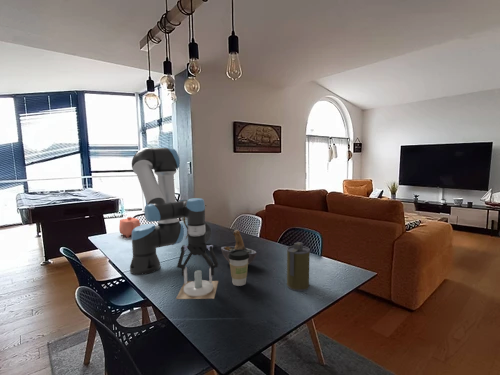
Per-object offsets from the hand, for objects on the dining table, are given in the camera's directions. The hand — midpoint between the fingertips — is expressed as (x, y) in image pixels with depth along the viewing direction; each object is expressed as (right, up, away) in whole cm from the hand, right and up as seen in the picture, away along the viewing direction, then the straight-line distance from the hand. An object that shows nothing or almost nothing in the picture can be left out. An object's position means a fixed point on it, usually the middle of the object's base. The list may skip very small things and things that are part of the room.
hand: (198, 282), depth 118 cm
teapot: (-71, +5, +89) cm, 113 cm away
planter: (+17, -1, +28) cm, 33 cm away
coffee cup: (+18, -3, +6) cm, 19 cm away
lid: (0, -3, 0) cm, 3 cm away
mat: (0, -4, 0) cm, 4 cm away
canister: (+45, -3, +4) cm, 45 cm away
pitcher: (-12, +3, +60) cm, 61 cm away
